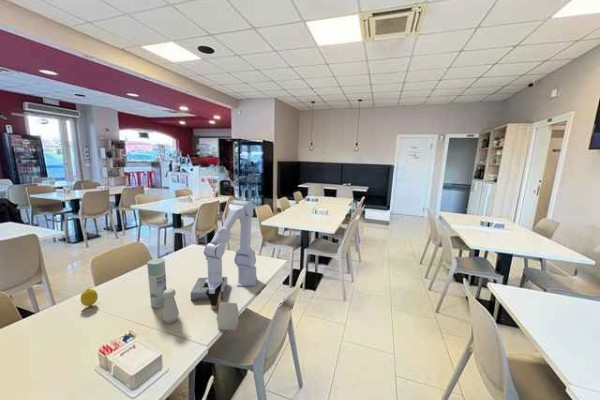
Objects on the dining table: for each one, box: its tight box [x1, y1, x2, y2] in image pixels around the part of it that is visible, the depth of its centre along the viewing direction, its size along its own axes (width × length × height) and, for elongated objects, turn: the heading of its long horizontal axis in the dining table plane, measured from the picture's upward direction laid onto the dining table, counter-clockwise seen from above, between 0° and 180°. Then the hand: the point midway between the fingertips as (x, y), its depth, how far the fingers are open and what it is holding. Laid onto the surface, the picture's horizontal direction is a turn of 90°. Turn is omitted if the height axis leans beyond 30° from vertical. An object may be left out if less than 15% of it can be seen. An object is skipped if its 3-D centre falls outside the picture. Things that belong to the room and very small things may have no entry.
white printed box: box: [217, 301, 239, 331], centre depth 97 cm, size 4×7×10 cm, turn 88°
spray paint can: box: [146, 257, 168, 309], centre depth 109 cm, size 6×6×20 cm
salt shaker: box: [162, 288, 180, 324], centre depth 99 cm, size 6×6×13 cm
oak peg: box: [210, 292, 222, 311], centre depth 109 cm, size 4×4×7 cm
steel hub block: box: [190, 276, 228, 302], centre depth 121 cm, size 14×14×4 cm
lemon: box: [80, 288, 99, 307], centre depth 107 cm, size 6×6×8 cm
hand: (215, 300), depth 109 cm, fingers open, 7 cm apart
